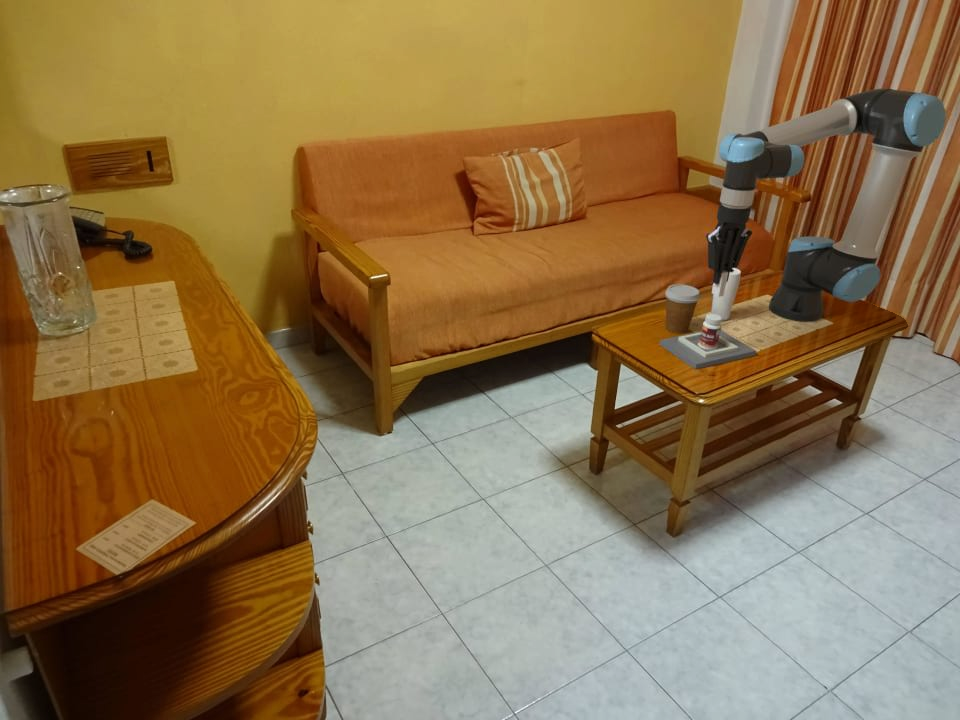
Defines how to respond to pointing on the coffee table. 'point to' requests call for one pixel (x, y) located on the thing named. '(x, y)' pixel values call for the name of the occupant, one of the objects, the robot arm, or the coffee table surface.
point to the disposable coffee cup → (680, 307)
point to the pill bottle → (710, 331)
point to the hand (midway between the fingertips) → (717, 294)
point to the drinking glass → (726, 296)
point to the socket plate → (706, 350)
